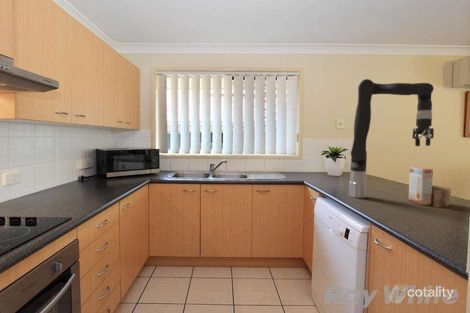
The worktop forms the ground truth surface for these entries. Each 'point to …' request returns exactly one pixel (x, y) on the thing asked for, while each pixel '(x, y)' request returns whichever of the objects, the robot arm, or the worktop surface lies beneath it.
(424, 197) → the cracker box
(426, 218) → the worktop surface
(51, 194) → the worktop surface
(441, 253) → the worktop surface
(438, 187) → the book rack
